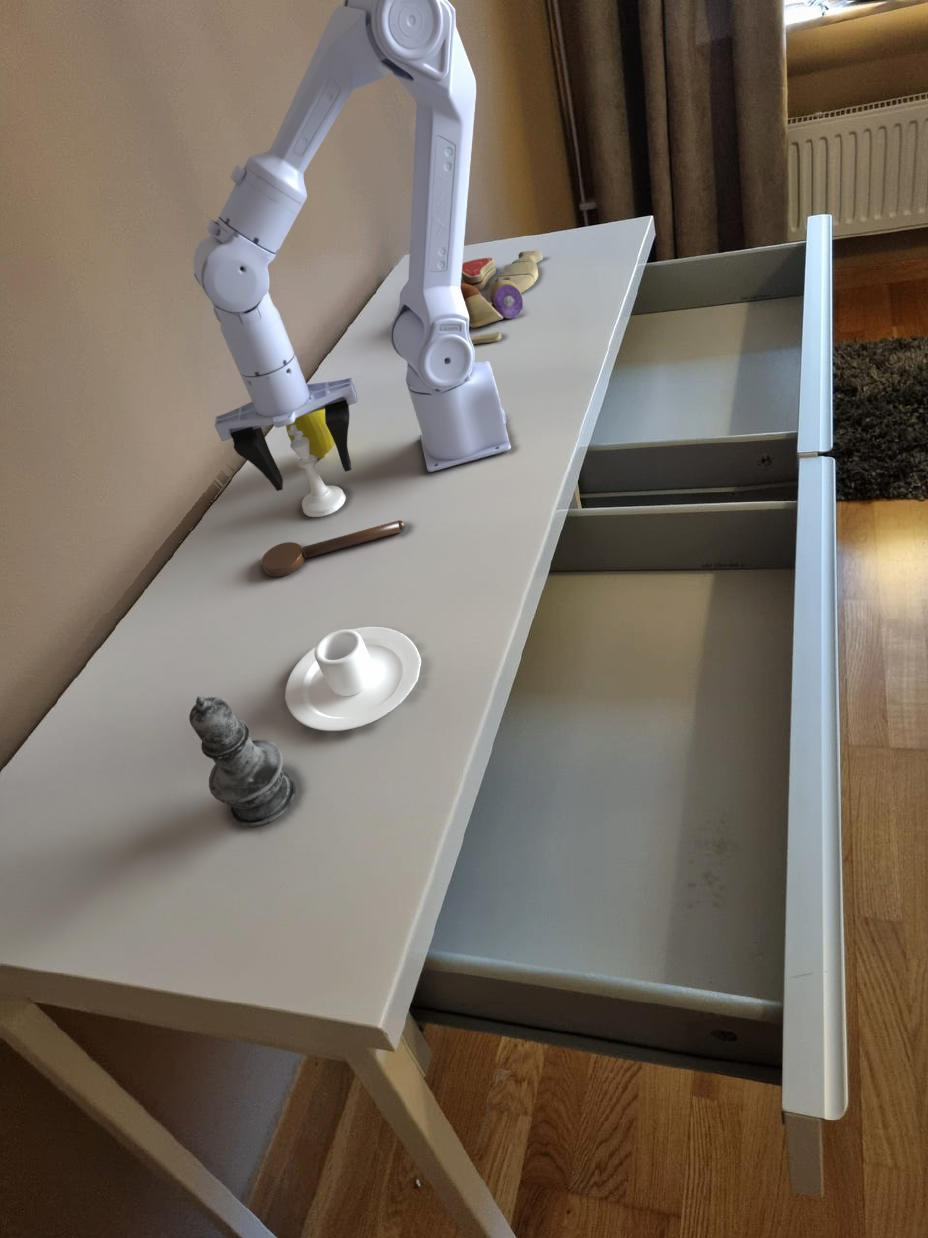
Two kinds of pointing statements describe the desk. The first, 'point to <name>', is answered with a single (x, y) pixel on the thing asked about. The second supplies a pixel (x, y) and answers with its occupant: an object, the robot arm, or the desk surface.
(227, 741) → the dark grey turned piece
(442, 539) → the desk surface
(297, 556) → the spoon
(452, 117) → the robot arm
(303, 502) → the chess piece
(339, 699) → the candle holder
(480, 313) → the toy food set
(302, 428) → the lemon
